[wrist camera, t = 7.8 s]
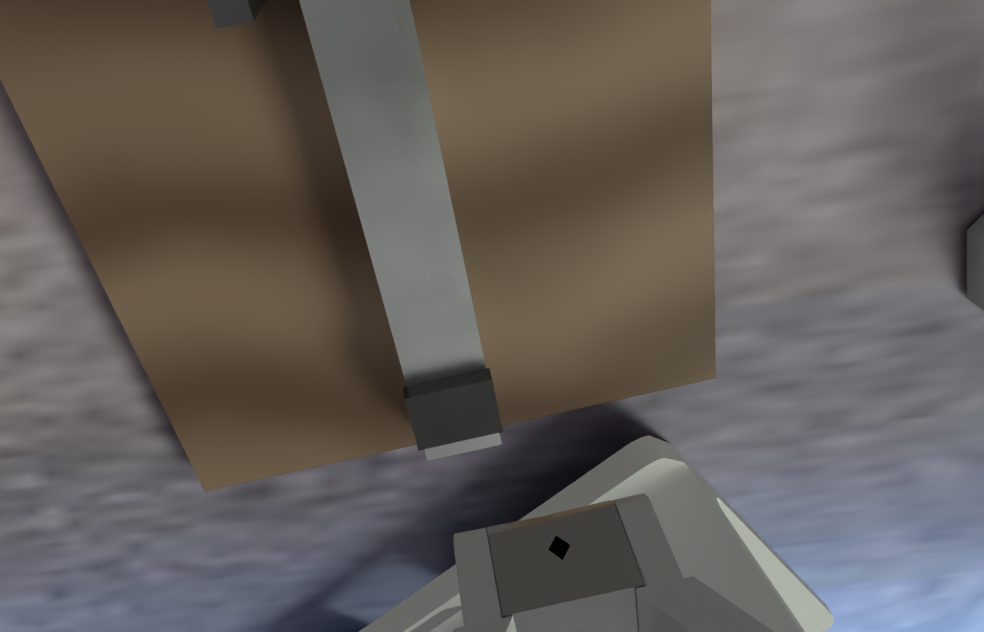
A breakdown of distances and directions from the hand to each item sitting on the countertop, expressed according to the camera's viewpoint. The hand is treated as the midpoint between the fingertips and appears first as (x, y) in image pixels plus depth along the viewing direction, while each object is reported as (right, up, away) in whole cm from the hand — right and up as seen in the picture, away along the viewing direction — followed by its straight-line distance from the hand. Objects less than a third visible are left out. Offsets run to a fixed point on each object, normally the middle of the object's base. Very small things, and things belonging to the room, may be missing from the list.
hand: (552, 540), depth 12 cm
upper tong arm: (-3, +7, +10) cm, 12 cm away
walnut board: (-4, +7, +11) cm, 14 cm away
